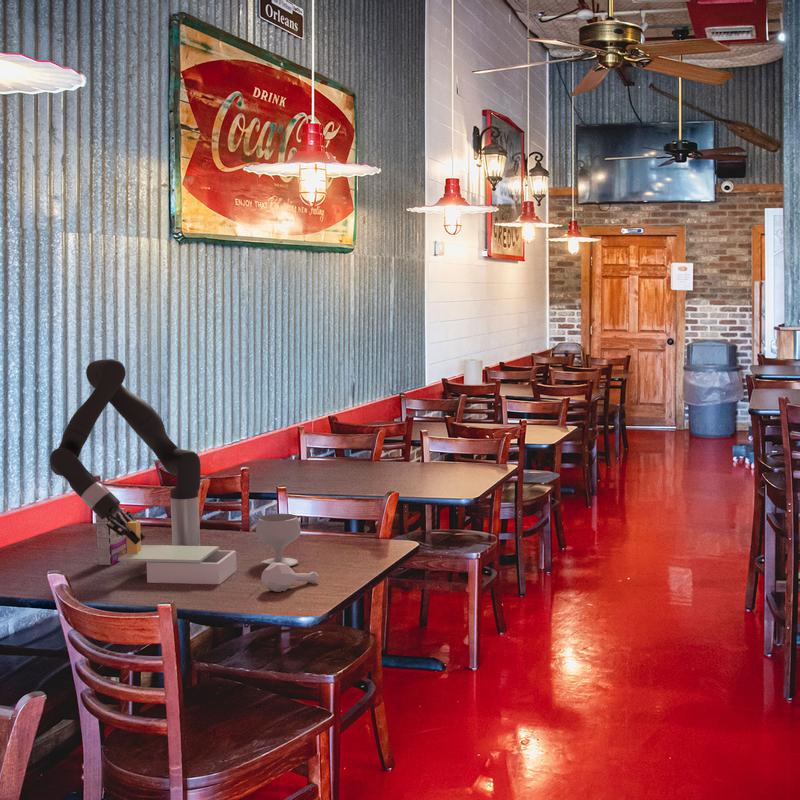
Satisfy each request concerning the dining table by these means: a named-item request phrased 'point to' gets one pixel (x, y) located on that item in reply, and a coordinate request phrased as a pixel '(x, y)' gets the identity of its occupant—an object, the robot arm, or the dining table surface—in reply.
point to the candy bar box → (109, 543)
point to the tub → (194, 570)
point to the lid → (164, 550)
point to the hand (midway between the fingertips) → (140, 540)
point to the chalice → (278, 534)
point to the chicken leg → (284, 577)
